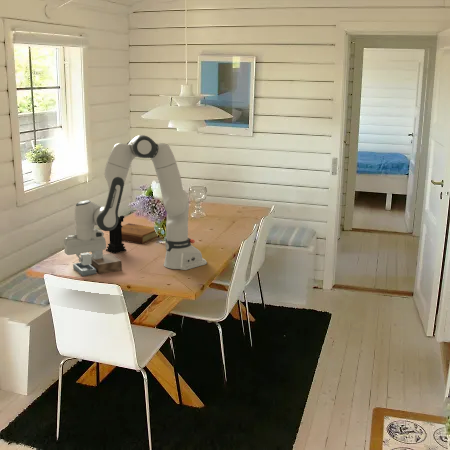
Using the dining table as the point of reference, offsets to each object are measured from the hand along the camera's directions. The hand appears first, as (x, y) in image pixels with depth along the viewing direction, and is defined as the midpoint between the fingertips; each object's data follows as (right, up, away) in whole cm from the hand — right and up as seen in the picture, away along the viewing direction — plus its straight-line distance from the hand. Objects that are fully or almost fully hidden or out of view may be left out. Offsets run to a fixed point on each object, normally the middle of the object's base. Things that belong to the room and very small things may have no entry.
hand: (86, 260), depth 290 cm
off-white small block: (0, -2, 0) cm, 2 cm away
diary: (+15, +9, +64) cm, 66 cm away
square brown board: (+8, -4, +9) cm, 13 cm away
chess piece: (+8, +3, +38) cm, 39 cm away
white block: (+4, +1, +9) cm, 10 cm away
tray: (-2, -6, +4) cm, 7 cm away
